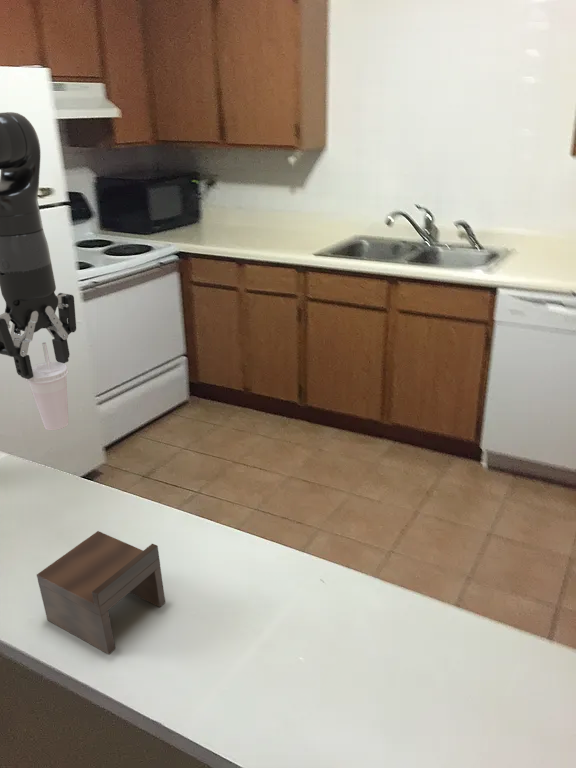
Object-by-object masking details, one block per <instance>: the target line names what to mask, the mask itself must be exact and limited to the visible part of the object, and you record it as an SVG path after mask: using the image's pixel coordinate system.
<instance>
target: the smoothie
mask: <svg viewBox="0 0 576 768" xmlns="http://www.w3.org/2000/svg"><path fill="white" fill-rule="evenodd" d="M41 345H42V351H43V356H44V360H45V362H41V363H37V364H33V365H31V367H32V371H33V378H30V379H26V378H24V380H25V381H26V382H28V385H29V388H30V391H31V393H32V396H33V399H34V403H35V405H36V408H37V411H38V413H39V416H40V419H41V422H42V425H43V427H44V429H45V430H47V431H59V430H62V429H64V428H66V427H67V426H68V425H69V407H68V383H67V382H68V381H67V375H68V374H69V370H68V366H67V364H66V363H60V362H57V361H50V357H49V352H48V347H47V342H42V343H41Z"/></svg>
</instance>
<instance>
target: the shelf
mask: <svg viewBox="0 0 576 768" xmlns="http://www.w3.org/2000/svg"><path fill="white" fill-rule="evenodd" d="M160 559H161V558H160V553H159V546H158V545H157V544H154V543H151V544H150V545H148V546H147V547H146V548H145V549H141V548H138V547H136V546H133V545H131V544H129V543H127V542H124V541H122V540H121V539H118V538H116V537H113V536H111V535H108V534H107V533H104V532H101V531H99V530H97V531H96V532H94V533H93V534H91V535H90V536H89V537H87V538H85V540H83V541H82V542H80V543H79V544H77V545H76V546H74V547H73V548H71V549H70V550H69V551H67V552H66V553H65V554H63V555H62V556H60V557H59V558H57V559H56V560H55V561H54V562H52V563H50V564H49V565H48V566H47V567H45V568H43V569H42V570H41V571H40V572H38V573H36V578H37V582H38V587H39V591H40V595H41V596H40V597H41V599H42V604H43V609H44V612H45V617H46V620H47V621H48V622H50V623H52V624H54V625H55V626H57V627H59V628H61V629H63V630H64V631H66V632H68V633H70V634H71V635H73V636H75V637H77V638H79V639H80V640H82V641H84V642H86V643H88V644H90V645H91V646H93V647H94V648H97V649H99V650H100V651H102V652H103V653H106V654H107V655H110V654H111V653H112V652H113V651H114V650H115V649H116V645H115V639H114V635H113V628H112V623H111V618H110V612H109V610H110V609H112V608H113V607H114V606H115V605H116V604H117V603H119V602H120V601H121V600H122V599H123V598H125V597H126V596H127V595H128V594H132V595H134V596H136V597H138V598H140V599H141V600H143V601H146V602H149V603H150V604H152V605H154V606H156V607H158V608H161V607H162V606H163V605H164V604H165V603H166V596H165V588H164V583H163V576H162V569H161V560H160Z"/></svg>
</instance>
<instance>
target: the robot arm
mask: <svg viewBox="0 0 576 768" xmlns="http://www.w3.org/2000/svg"><path fill="white" fill-rule="evenodd" d="M41 154H42V153H41V144H40V140H39V136H38V133H37V132H36V129H35V127H34V126H33V124H32V123H31V122H30V121H29V119H28V118H26V117H25V116H24V115H23V114H20V113H19V112H13V111H7V112H5V111H4V112H0V293H1V296H2V298H3V300H4V302H5V308H4V313H3V312H2V313H1V314H0V355H4V356H8V357H11V358H13V361H14V365H15V371H16V373H17V375H18V376H20V377H21V378H22V379H25V378H26V379H30V378H33V371H32V367H31V366H32V362H31V357H30V355H29V354H28V352H29V347H30V343H31V342H32V341H33V338H34V334H35V333H37V332H39V331H40V330H41V329H42V330H43V329H46V330H47V331H48V333H49V334H50V336H51V337H52V339H51V343H52V347H53V353H54V357H55V362H60V363H63V364H66V363H69V360H70V359H69V358H70V355H71V354H70V349H69V344H68V338H69V335H70V334H71V333H75V332H76V331H77V319H76V306H75V305H76V304H75V296H74V294H70V293H64V292H59V293H57V295H56V294H55V292H56V290H57V287H56V281H55V275H54V270H53V265H52V259H51V253H50V248H49V243H48V240H47V238H46V235H45V234H46V233H45V231H44V225H43V220H42V215H41V211H40V205H39V201H38V199H39V198H38V195H39V187H40V175H41V173H40V171H41ZM57 310H58V316H57V314H56V311H57ZM10 322H11V323H12V326H11V325H10ZM10 329H11V330H10ZM21 331H22V332H23V333H22V332H21Z"/></svg>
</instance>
